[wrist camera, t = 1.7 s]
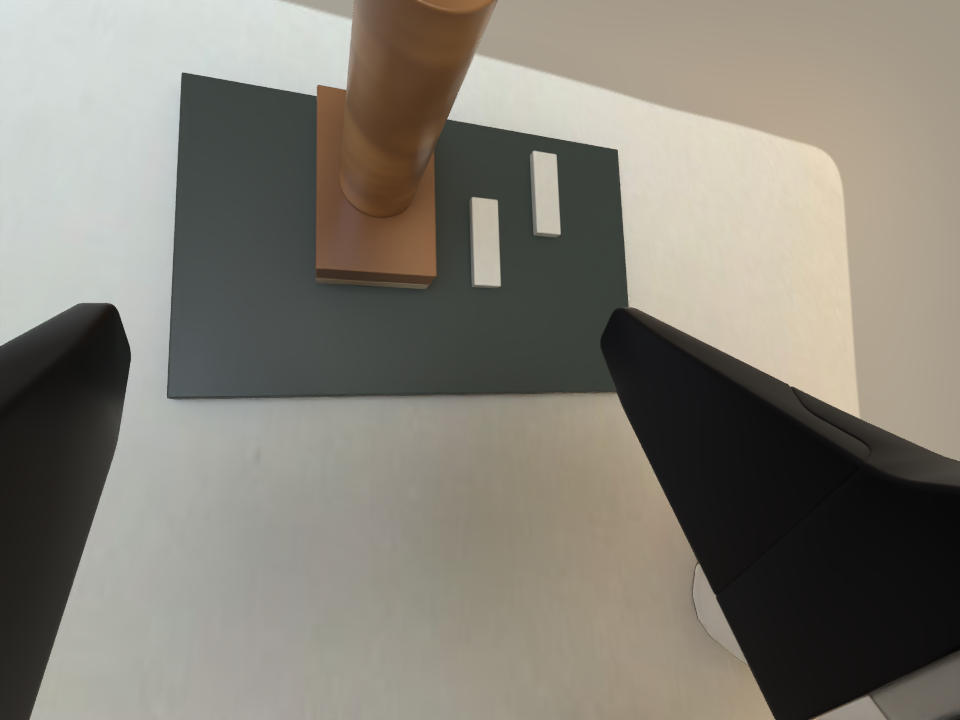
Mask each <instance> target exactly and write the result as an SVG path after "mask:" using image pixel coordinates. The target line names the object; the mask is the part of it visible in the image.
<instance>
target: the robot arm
mask: <svg viewBox="0 0 960 720" xmlns="http://www.w3.org/2000/svg"><path fill="white" fill-rule="evenodd" d="M600 347H601V351H602V354H603V356H604V359H605V362H606V364H607V367H608V370H609V373H610V375H611V378H612V381H613V383H614V386H615V389H616V392H617V394H618V397H619V399H620V402H621V404H622V407H623V409H624V411H625V413H626V415H627V417H628V419H629V421H630V424H631V426H632V428H633V430H634V432H635V434H636V436H637V438H638V440H639V442H640V444H641V446H642V448H643V450H644V452H645V454H646V456H647V458H648V460H649V462H650V464H651V466H652V468H653V470H654V473H655V475H656V477H657V479H658V481H659V483H660V485H661V487H662V489H663V491H664V493H665V495H666V497H667V499H668V501H669V503H670V505H671V507H672V509H673V511H674V513H675V515H676V517H677V519H678V522H679V524H680V526H681V528H682V530H683V532H684V534H685V536H686V538H687V540H688V542H689V544H690V546H691V548H692V550H693V552H694V554H695V556H696V558H697V560H698V562H699V564H700V566H701V568H702V570H703V573H704V575H705V577H706V579H707V581H708V583H709V585H710V587H711V589H712V591H713V593H714V595H716V600H717V602H718V604H719V606H720V608H721V610H722V612H723V614H724V616H725V618H726V620H727V622H728V624H729V626H730V628H731V630H732V633H733V635H734V637H735V639H736V641H737V643H738V645H739V647H740V649H741V651H742V653H743V655H744V657H745V659H746V661H747V663H748V665H749V667H750V669H751V671H752V673H753V675H754V678H755V680H756V682H757V684H758V686H759V688H760V690H761V692H762V694H763V696H764V698H765V700H766V702H767V704H768V706H769V708H770V710H771V712H772V714H773V716H774V718H775V720H813V719H816V718H818V717H820V716H823V715H825V714H827V713H830V712H832V711H834V710H837V709H839V708H841V707H844V706H846V705H848V704H851V703H853V702H855V701H858V700H860V699H862V698H865V697H867V696H869V697H870V698H871V700H872V701H873V702H874V704H875V705H876V706H877V708H878V709H879V710H880V712H881V713H882V714H883V716H884V717H885V718H886V720H960V461H957V460H953V459H950V458H947V457H944V456H942V455H939V454H937V453H934V452H932V451H930V450H927V449H925V448H923V447H921V446H918V445H916V444H914V443H912V442H910V441H907V440H905V439H903V438H900V437H898V436H896V435H894V434H892V433H890V432H887V431H885V430H883V429H881V428H879V427H876V426H874V425H872V424H870V423H867V422H865V421H863V420H861V419H859V418H857V417H855V416H852V415H850V414H848V413H846V412H844V411H842V410H839V409H837V408H835V407H833V406H831V405H829V404H827V403H825V402H823V401H821V400H819V399H817V398H815V397H813V396H810V395H808V394H806V393H804V392H802V391H800V390H798V389H796V388H794V387H790V386H789V385H788V384H786V383H784V382H782V381H780V380H778V379H776V378H774V377H772V376H770V375H768V374H766V373H764V372H762V371H760V370H758V369H756V368H754V367H752V366H750V365H748V364H746V363H744V362H742V361H740V360H738V359H736V358H734V357H732V356H730V355H728V354H726V353H724V352H722V351H720V350H718V349H716V348H714V347H712V346H710V345H708V344H706V343H704V342H702V341H700V340H698V339H696V338H694V337H692V336H690V335H688V334H686V333H684V332H682V331H680V330H678V329H676V328H674V327H672V326H670V325H668V324H666V323H664V322H662V321H660V320H658V319H656V318H654V317H652V316H650V315H648V314H646V313H644V312H642V311H640V310H638V309H636V308H632V307H619V308H617V309H615V310H614V311H613V312H612V314H611V316H610V318H609V321H608V323H607V325H606V327H605V329H604V332H603V334H602V336H601V339H600ZM130 362H131V351H130V346H129V343H128V340H127V337H126V334H125V330H124V327H123V324H122V321H121V318H120V315H119V312H118V310H117V309H116V307H115V306H114V305H112V304H109V303H80V304H77V305H75V306H73V307H71V308H70V309H68V310H66V311H64V312H62V313H60V314H59V315H57V316H55V317H53V318H51V319H49V320H48V321H46V322H44V323H42V324H40V325H38V326H37V327H35V328H33V329H31V330H29V331H27V332H26V333H24V334H22V335H20V336H18V337H16V338H15V339H13V340H11V341H9V342H7V343H5V344H4V345H2V346H0V720H29V719H30V716H31V713H32V710H33V707H34V704H35V701H36V697H37V694H38V691H39V688H40V685H41V682H42V679H43V676H44V672H45V669H46V666H47V663H48V660H49V657H50V654H51V650H52V647H53V644H54V641H55V638H56V635H57V632H58V628H59V625H60V622H61V619H62V616H63V613H64V610H65V607H66V603H67V600H68V597H69V594H70V591H71V588H72V585H73V581H74V578H75V575H76V572H77V569H78V566H79V563H80V560H81V556H82V553H83V550H84V547H85V544H86V541H87V538H88V534H89V531H90V528H91V525H92V522H93V519H94V516H95V512H96V509H97V506H98V503H99V500H100V497H101V494H102V491H103V487H104V484H105V481H106V478H107V475H108V472H109V469H110V465H111V462H112V459H113V456H114V452H115V449H116V445H117V440H118V435H119V430H120V424H121V418H122V411H123V405H124V399H125V393H126V387H127V380H128V374H129V368H130Z"/></svg>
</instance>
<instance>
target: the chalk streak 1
mask: <svg viewBox="0 0 960 720" xmlns="http://www.w3.org/2000/svg"><path fill="white" fill-rule="evenodd" d="M469 213H470V246H471V280H472V287H478V288H495V289H497V288H499V287H500V286H501V276H500V249H499V222H498V200H493V199H485V198H477V197H472V198H471V199H470V201H469Z"/></svg>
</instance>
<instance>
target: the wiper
mask: <svg viewBox="0 0 960 720" xmlns="http://www.w3.org/2000/svg"><path fill="white" fill-rule="evenodd" d="M497 1H498V0H354V7H353V8H354V9H353V19H352V31H351V42H350V54H349V66H348V78H347V89H346V90H343V89H337V88H332V87H327V86H321V85H318V86H317V148H316V253H315V274H316V283H325V284H343V285H360V286H378V287H395V288H413V289H426V288H427V287H428V286H429V285H430V284H431V282H432V281H433V280H434V279H435V278H436V276H437V268H436V221H435V174H434V148H435V146H436V144H437V141H438V139H439V137H440V134H441V132H442V130H443V127H444V125H445V123H446V120H447V118H448V116H449V113H450V111H451V109H452V106H453V104H454V102H455V99H456V97H457V95H458V92H459V90H460V87H461V85H462V83H463V80H464V78H465V76H466V73H467V71H468V69H469V66H470V64H471V62H472V59H473V57H474V55H475V52H476V50H477V48H478V45H479V43H480V41H481V38H482V36H483V34H484V31H485V29H486V27H487V24H488V22H489V20H490V17H491V15H492V12H493V10H494V8H495V6H496V3H497Z"/></svg>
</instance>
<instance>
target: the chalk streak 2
mask: <svg viewBox="0 0 960 720" xmlns="http://www.w3.org/2000/svg"><path fill="white" fill-rule="evenodd" d="M530 172H531V194H532V216H533V235H535V236H545V237H555V238H557V237H558V236H559V235H560V234H561V230H560V211H559V192H558V173H557V155H556V154H550V153H544V152H538V151H533V152H532V153H531V154H530Z"/></svg>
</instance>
